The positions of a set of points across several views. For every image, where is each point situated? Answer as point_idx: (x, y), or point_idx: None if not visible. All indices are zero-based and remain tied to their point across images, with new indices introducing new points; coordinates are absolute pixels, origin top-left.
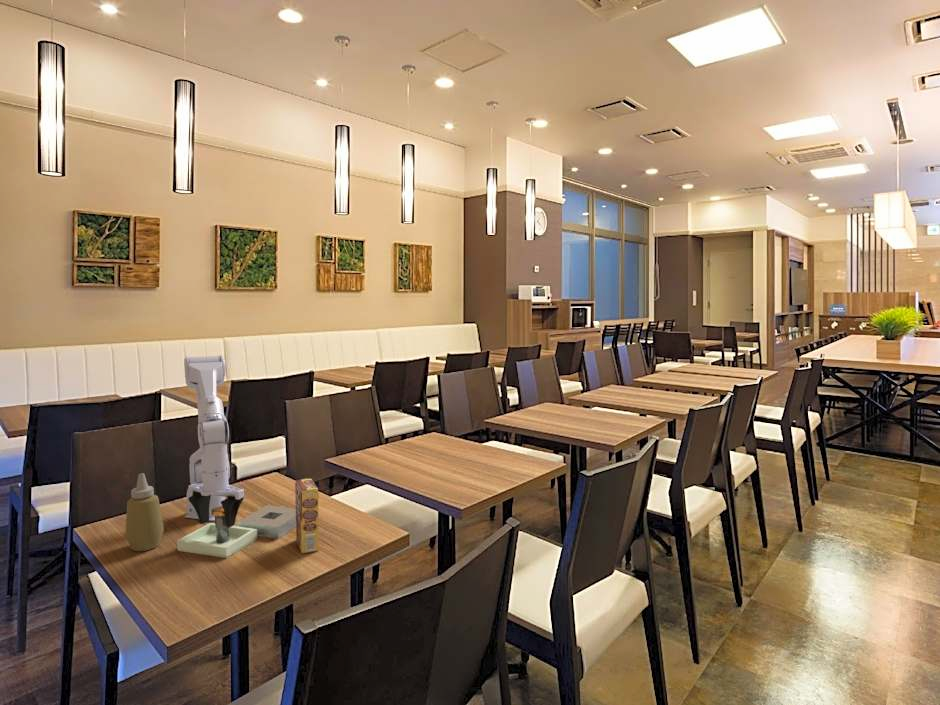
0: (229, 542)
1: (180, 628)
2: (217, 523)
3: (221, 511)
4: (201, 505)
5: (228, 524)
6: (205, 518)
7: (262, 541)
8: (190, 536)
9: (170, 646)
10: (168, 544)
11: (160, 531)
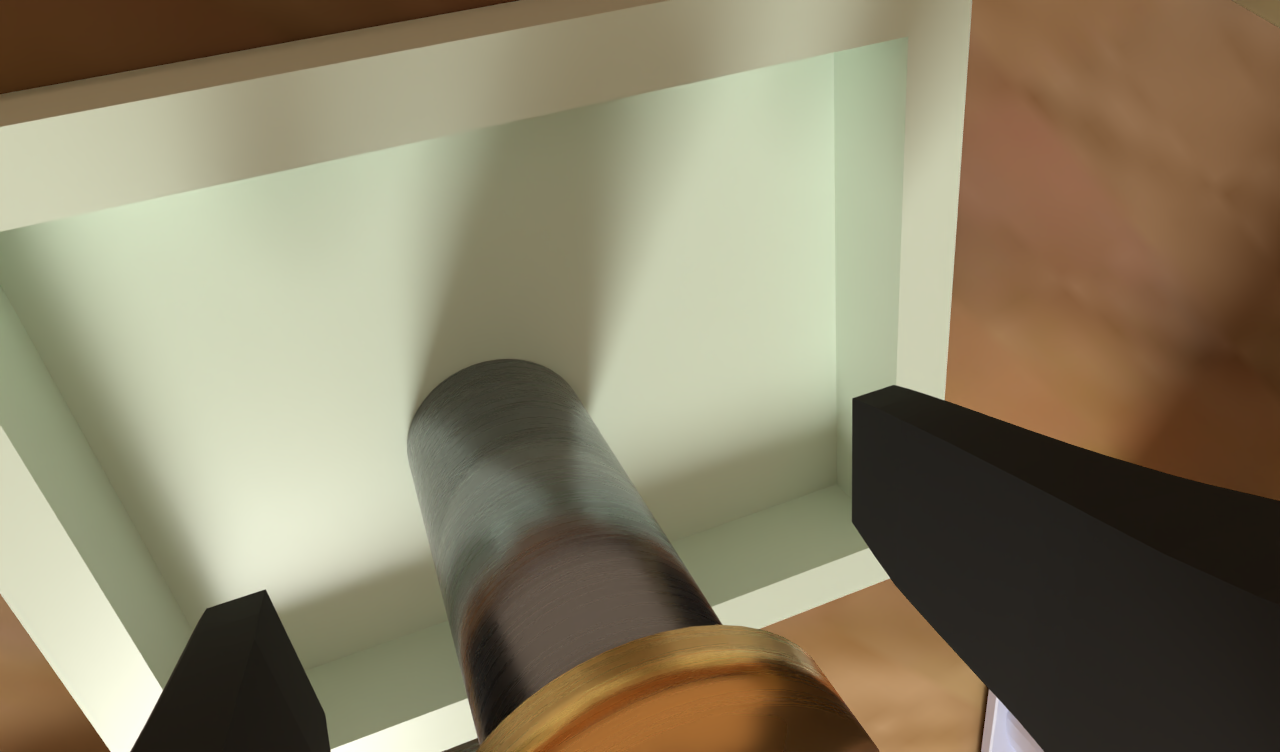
0: (355, 461)
1: None
2: (566, 554)
3: None
4: (1186, 673)
5: (178, 664)
6: (898, 509)
7: (46, 740)
8: (892, 182)
9: None
10: (1093, 24)
11: None
